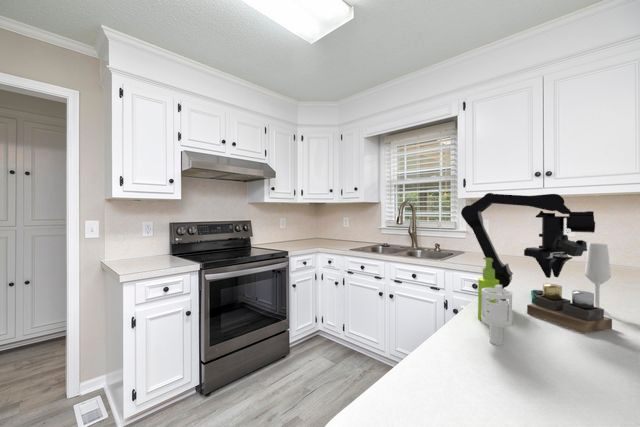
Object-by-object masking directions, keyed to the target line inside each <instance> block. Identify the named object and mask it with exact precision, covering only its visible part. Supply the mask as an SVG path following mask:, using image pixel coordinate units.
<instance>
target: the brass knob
mask: <svg viewBox="0 0 640 427" xmlns="http://www.w3.org/2000/svg"><path fill="white" fill-rule="evenodd" d="M542 291H543V297H546V298H550V299H562V298H563V287H562V285H559V284H555V283H543V284H542Z"/></svg>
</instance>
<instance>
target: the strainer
mask: <svg viewBox="0 0 640 427" xmlns="http://www.w3.org/2000/svg"><path fill="white" fill-rule="evenodd" d="M504 289H505V288H503V289H502V285H495V288H482V289H481V294H482V300H481V320H482V321H481V320H480V321H481V322H483V323H484V324H486V325H489V342H490V344H493V345H496V346H502V345H503V344H504V341H503V340H504V336H503V335H504V328H509V327H512V326H513V292H512V291H510V290H507V289H505V290H504ZM489 292H496V294H494V293H489ZM485 296H487V297H485ZM495 299H497V300H496V304H495V303H491V302H490V300H495ZM500 299H506V301H502V300H500Z"/></svg>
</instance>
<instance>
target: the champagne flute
mask: <svg viewBox="0 0 640 427" xmlns="http://www.w3.org/2000/svg"><path fill="white" fill-rule="evenodd" d="M586 252H587V253H586V254H587V255H586V261H585V267H584V268H585V269H584V276H585V277H586V278H587V279H588V280H589V281H590V282H591V283H593V284H594V307H598V308H602V307H601V306H600V304H601V303H600V296H601V294H600V289H601V285H602V284H604V283H606V282H608V281H610V279H611V277H612V274H611V265H610V255H609V248H608V243H600V242H599V243H598V242H589V243H588V245H587V251H586ZM604 316H611V313H610V312H609V311H607V310H605V309H604Z"/></svg>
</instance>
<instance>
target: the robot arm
mask: <svg viewBox="0 0 640 427" xmlns="http://www.w3.org/2000/svg"><path fill="white" fill-rule="evenodd" d="M493 204H494V205H495V204H497V205H509V206H510V205H512V206H521V207H522V206H523V207H531V208H535V209H540V210H541V211H539V213H538V214H536V215H535V218H537V219H538V218H540V219H541V218H542V220H541V233H538V238H541V245H538V247H526V248H525V249H524V250H523V255H524V256H523V257H531V258H532V259H533V258H534V259H535V261H536V262H537V263H538V265H539V266H540V268H541V270H542V272H543V274H544V276H545V277H546V279H547V278H548V279H550V278H551V277H552V274H553V277H554V278H559V277H560V274H561V272H562V270H563V267H564V265H565V264H566V262H567V261H569V260H573V257H582V256H583V253H584V252H588V245H587V241H585V240H583V239H578V240H576V241H574V240H569V236H568V234H565V233H564V232H565V230H564V229H565V226H566V229H569V230H570V232H571V233H589V234H590V233H595V231H596V221H595V215H594V213H595V212H594V211H592V210H591V211H590V210H587V211H571V209H570V208H568V207H567V206H566V205H565V199H564V198H563V197H562V196H561V195H560V194H557V193H546V194H537V195H522V194H521V195H520V194H519V195H518V194H501V193H492V192H488V193H486V194H485V195H483V196H482V197H481V198H479V199H477V200H476V201H475V202H473V203H472V204H468V205H465V206H463V208H462V209H461V212H460V214H461V217H462V219H463V220H464V221H465V223H466V224H467V225H468V227H470V228H471V229H472V231H473V234H474V236H475V237H476V240H477V243H478V245H479V246H480V249H481V251H482V253H483V255H484V258H492V259H493V262H492V268H493V269H495V279H497V280H499V285H502V289H504V290H506V289H505V288H508V286H509V285H510V284H511V282H512V280H513V276H512V275H513V274H514V273H513V271H511V269H510V266H509V263H505V264H504V263H503V262H502V261H501V258H499V255H498V254H497V251H496V249H495V247H494V245H493V242H492V241H491V238H490V236H489V234H488V232H487V230H486V228H485V226H484V218H483V214H482V213H483V212H485V211H486V210H487V209H488V208H489V207H490V206H491V205H493ZM543 210H545V211H549V212H544V211H543ZM555 212H558V213H560V214H562V215H561V216H560V215H556V213H555ZM564 215H565V216H564ZM566 215H567V216H566ZM565 219H566V221H565ZM565 222H566V225H565ZM500 300H502V301H506V300H507V299H500Z"/></svg>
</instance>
